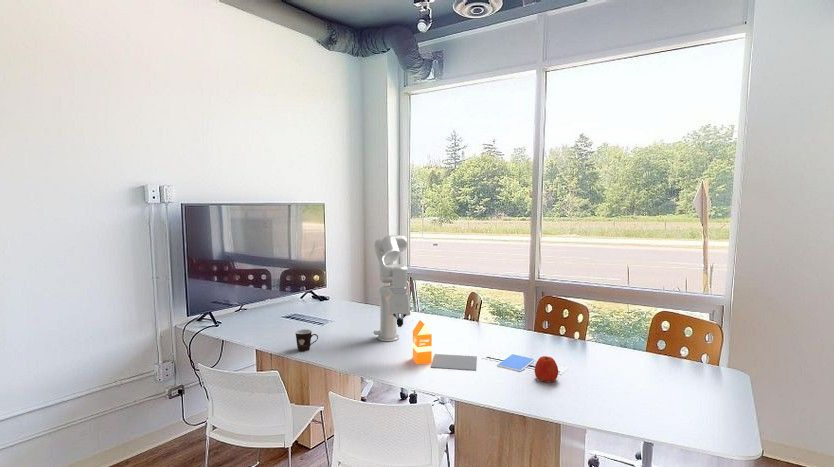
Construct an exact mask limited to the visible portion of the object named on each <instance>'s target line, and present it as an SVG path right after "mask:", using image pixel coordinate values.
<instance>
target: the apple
mask: <svg viewBox="0 0 834 467" xmlns="http://www.w3.org/2000/svg"><path fill="white" fill-rule="evenodd" d="M534 376H535V377H536V378H537V380H539V381H541V382H544V383H551V382H552V383H553V382H555V381H557V379H558V376H559V367H558V365H557V362H556V361H555V359H554V358H553V357H552V356H547V355H543V356H540V357H539V358H538V359H537V361H536V363H535V366H534Z"/></svg>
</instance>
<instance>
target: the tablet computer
mask: <svg viewBox="0 0 834 467" xmlns="http://www.w3.org/2000/svg"><path fill="white" fill-rule="evenodd" d="M534 360H535V359H534V358H532V357H526V356H522V355H518V354H511V355H509V356H507V357H506V358H504V359H503V360H502V361H500V362H499V363H497V364H496V366H497V367H498V368H502V369H507V370H511V371H513V372H514V371H515V372H519V373H520V372H522V371H524V370H525V369H526V368H527V367H528V366H529V365H531V364H533V362H535V361H534Z"/></svg>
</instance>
